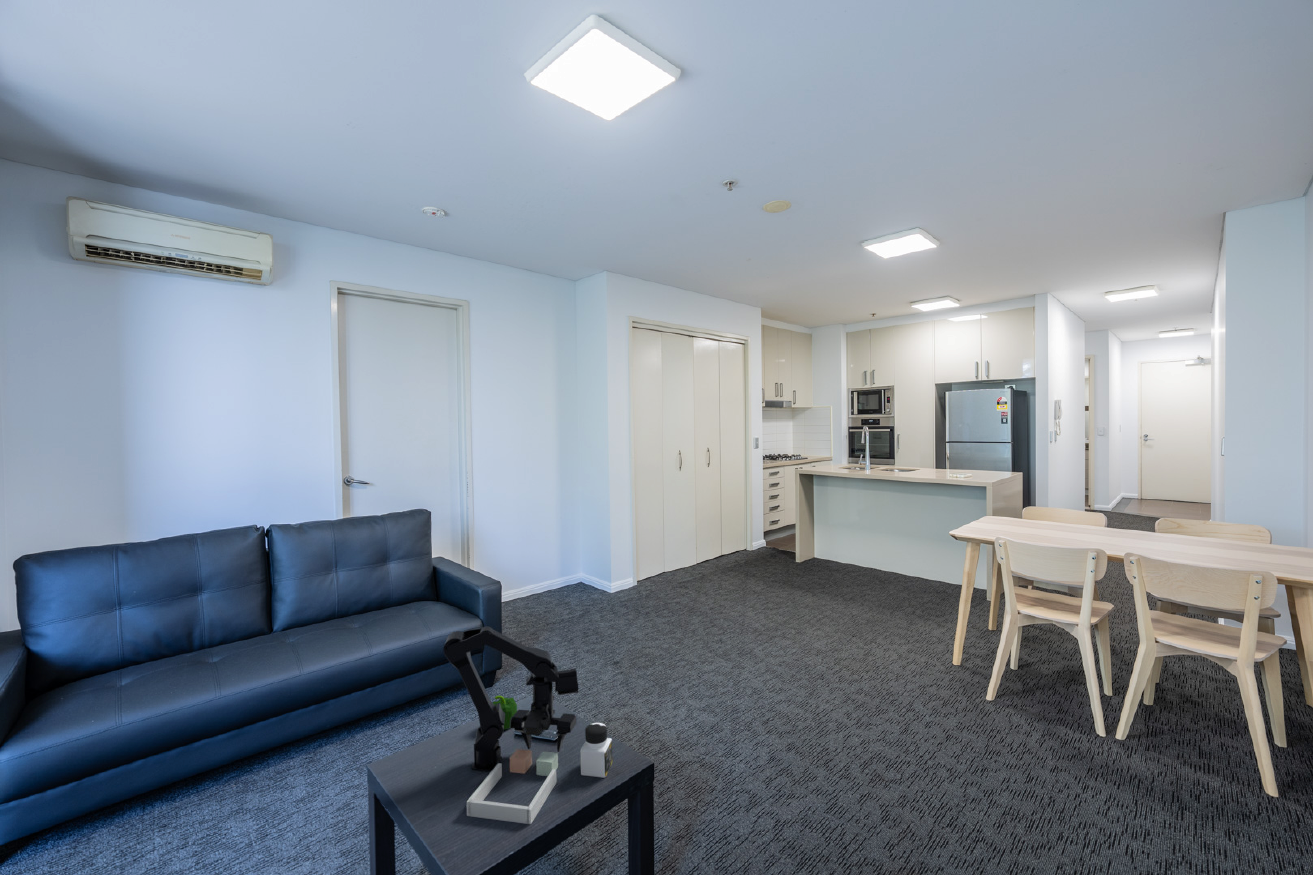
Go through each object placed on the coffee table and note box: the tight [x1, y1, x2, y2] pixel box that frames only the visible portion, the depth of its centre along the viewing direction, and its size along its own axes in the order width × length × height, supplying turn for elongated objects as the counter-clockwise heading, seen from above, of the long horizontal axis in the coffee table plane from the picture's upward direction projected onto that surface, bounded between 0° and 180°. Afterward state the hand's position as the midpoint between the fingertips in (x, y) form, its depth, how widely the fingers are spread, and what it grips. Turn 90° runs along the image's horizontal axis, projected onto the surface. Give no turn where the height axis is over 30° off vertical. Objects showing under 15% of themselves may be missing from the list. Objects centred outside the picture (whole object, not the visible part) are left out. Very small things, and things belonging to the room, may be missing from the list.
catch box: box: [466, 762, 557, 825], centre depth 140 cm, size 17×16×4 cm
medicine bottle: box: [579, 722, 613, 779], centre depth 151 cm, size 7×7×12 cm
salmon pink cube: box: [509, 748, 533, 774], centre depth 153 cm, size 4×4×4 cm
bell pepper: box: [491, 695, 518, 730], centre depth 176 cm, size 8×8×10 cm
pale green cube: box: [535, 751, 559, 777], centre depth 151 cm, size 4×4×4 cm
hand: (544, 749), depth 159 cm, fingers open, 9 cm apart
